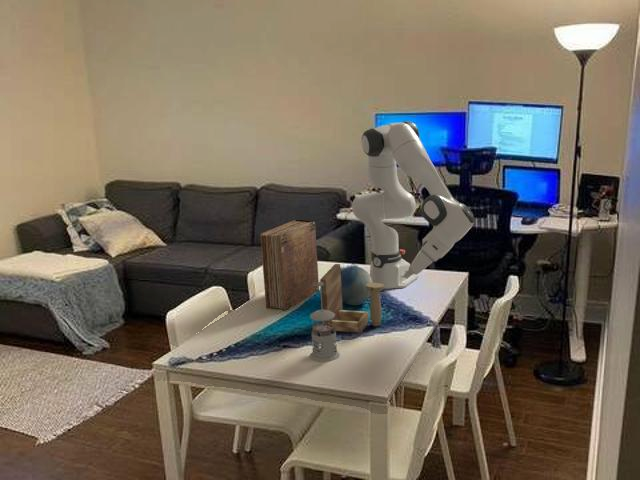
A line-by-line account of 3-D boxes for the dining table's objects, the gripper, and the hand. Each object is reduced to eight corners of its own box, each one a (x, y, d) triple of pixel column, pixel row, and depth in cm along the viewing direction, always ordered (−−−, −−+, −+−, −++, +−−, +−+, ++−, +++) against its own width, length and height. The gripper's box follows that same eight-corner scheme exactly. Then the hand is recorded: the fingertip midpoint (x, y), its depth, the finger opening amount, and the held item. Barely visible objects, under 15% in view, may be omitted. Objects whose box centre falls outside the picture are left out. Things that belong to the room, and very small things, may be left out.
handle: (381, 328, 230) (380, 288, 226) (365, 326, 233) (363, 286, 230) (387, 323, 234) (385, 284, 230) (371, 321, 237) (369, 281, 234)
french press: (317, 364, 206) (312, 289, 199) (303, 350, 216) (297, 278, 210) (345, 357, 210) (341, 283, 203) (330, 344, 220) (325, 273, 213)
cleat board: (370, 317, 241) (368, 265, 236) (358, 336, 225) (356, 281, 220) (337, 315, 245) (334, 264, 240) (323, 334, 229) (320, 279, 224)
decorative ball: (344, 295, 265) (342, 260, 261) (379, 299, 259) (378, 263, 255) (328, 308, 252) (326, 271, 249) (365, 312, 246) (363, 274, 242)
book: (285, 311, 252) (279, 236, 244) (265, 308, 257) (259, 234, 249) (319, 290, 273) (315, 220, 265) (300, 288, 278) (295, 219, 270)
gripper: (433, 231, 229) (407, 258, 235) (423, 246, 210) (395, 275, 216) (446, 243, 229) (420, 270, 234) (437, 260, 210) (409, 288, 215)
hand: (408, 272), depth 225 cm, fingers open, 8 cm apart
